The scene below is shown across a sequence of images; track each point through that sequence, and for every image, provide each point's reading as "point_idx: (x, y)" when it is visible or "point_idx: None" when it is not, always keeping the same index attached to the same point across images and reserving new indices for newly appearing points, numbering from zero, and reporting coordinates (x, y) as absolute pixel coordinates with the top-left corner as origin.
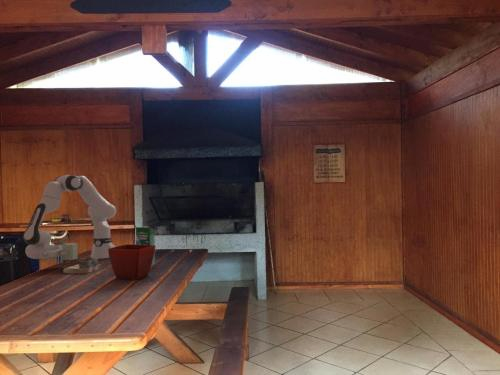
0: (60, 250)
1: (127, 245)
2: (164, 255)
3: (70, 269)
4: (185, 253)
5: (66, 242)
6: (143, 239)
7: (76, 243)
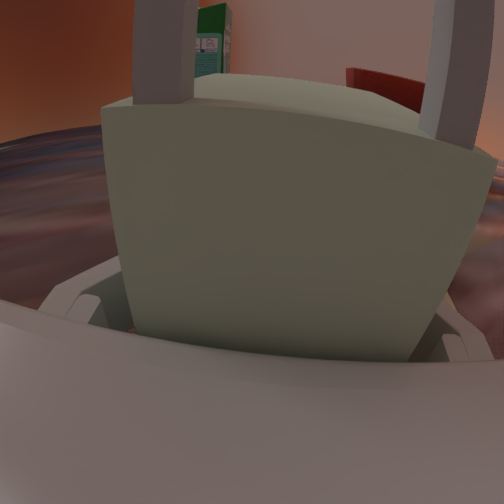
0: (481, 360)
1: (357, 71)
2: (16, 162)
3: (451, 306)
4: (22, 146)
5: (181, 52)
6: (227, 52)
7: (244, 75)
